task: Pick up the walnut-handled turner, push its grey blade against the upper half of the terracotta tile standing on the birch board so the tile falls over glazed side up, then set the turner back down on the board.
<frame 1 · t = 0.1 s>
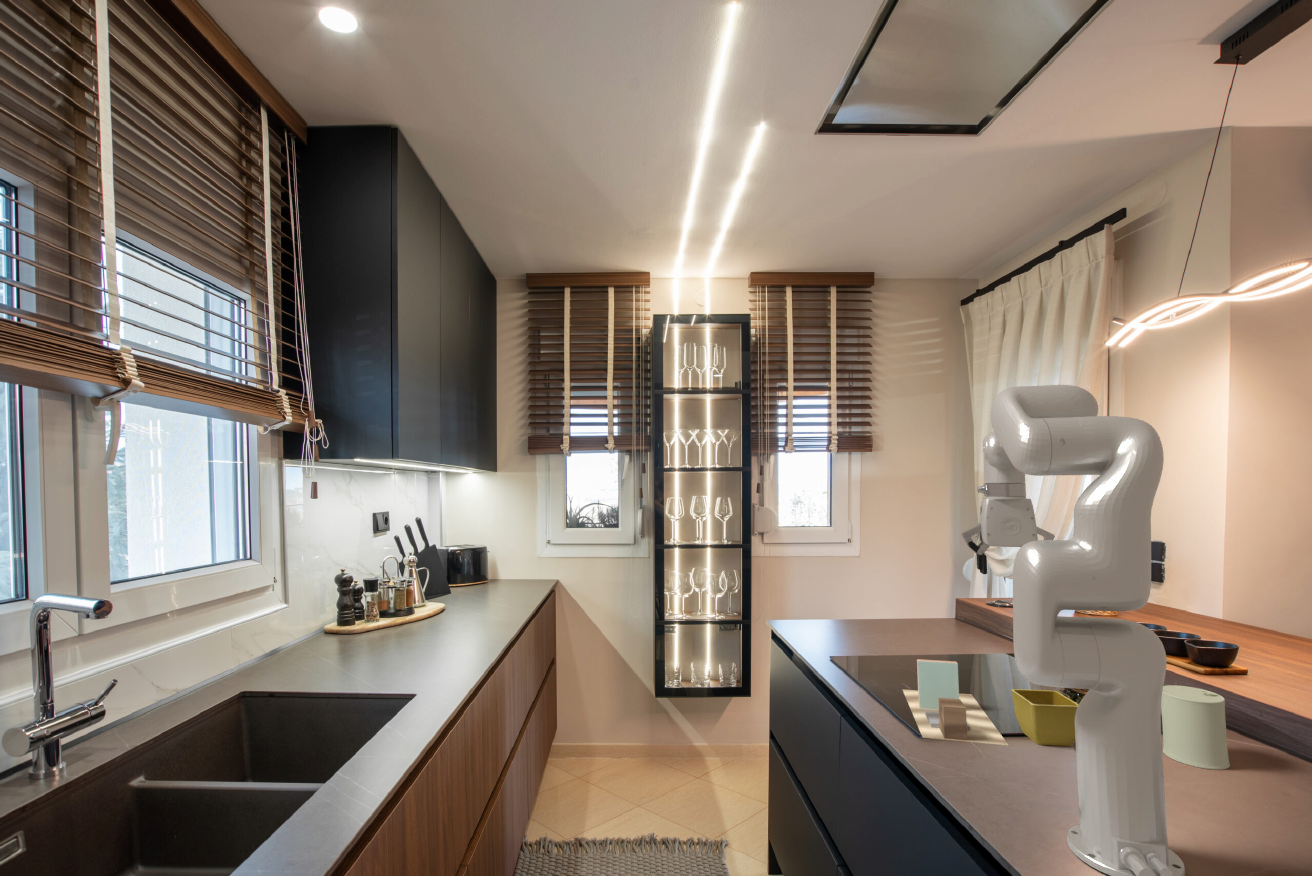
hand: (1008, 574, 128), 31 cm above the worktop, tool pointing down, fingers open, 9 cm apart
board: (949, 719, 130), on the worktop
can: (1195, 759, 112), on the worktop
tile: (938, 708, 134), point 1 cm above the worktop, touching board
flower pot: (1047, 746, 118), on the worktop
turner: (953, 734, 120), point 1 cm above the worktop, touching board
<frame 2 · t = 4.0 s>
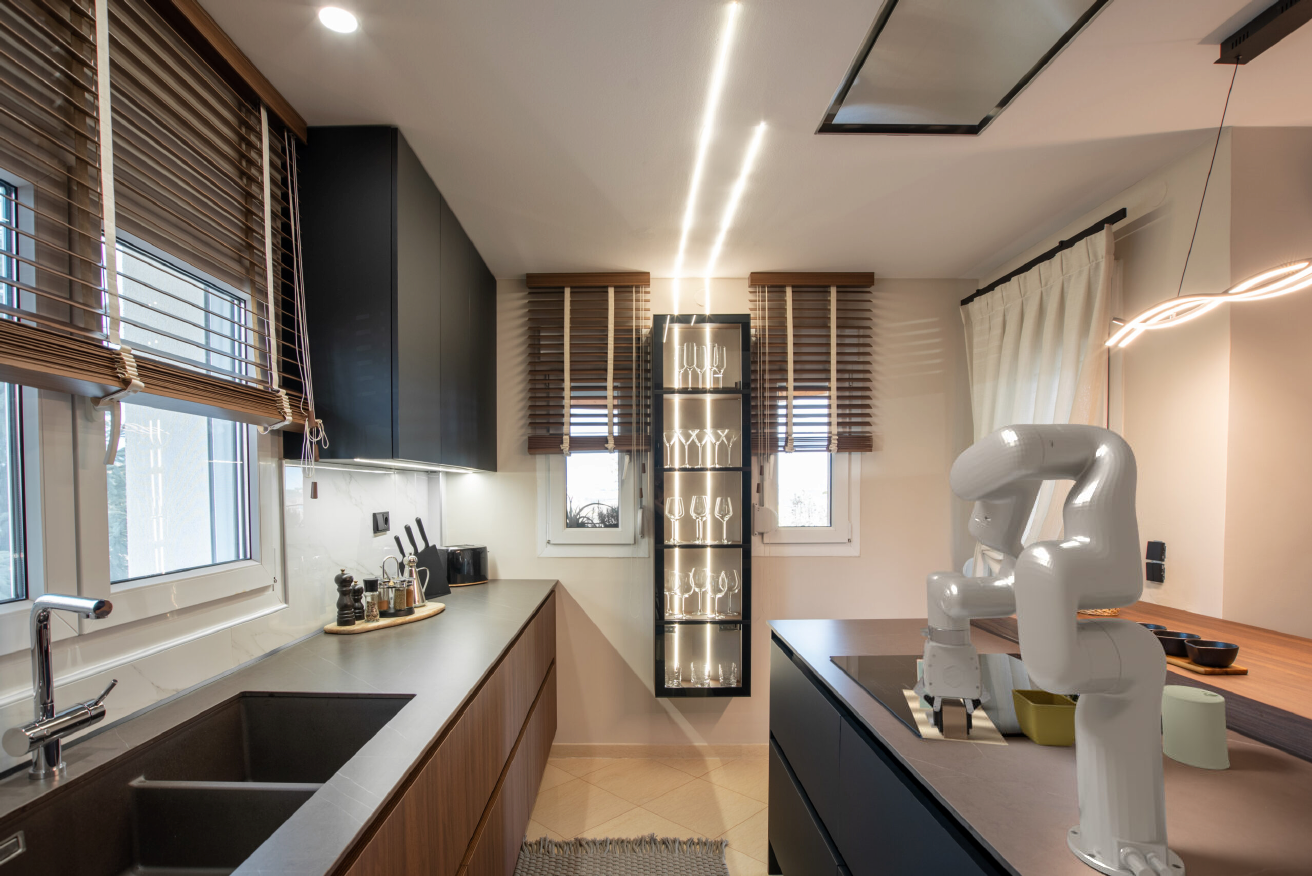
hand: (952, 729, 120), 2 cm above the worktop, tool pointing down, fingers closed on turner, 4 cm apart
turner: (953, 734, 120), point 1 cm above the worktop, touching board, gripper
everything else where it was.
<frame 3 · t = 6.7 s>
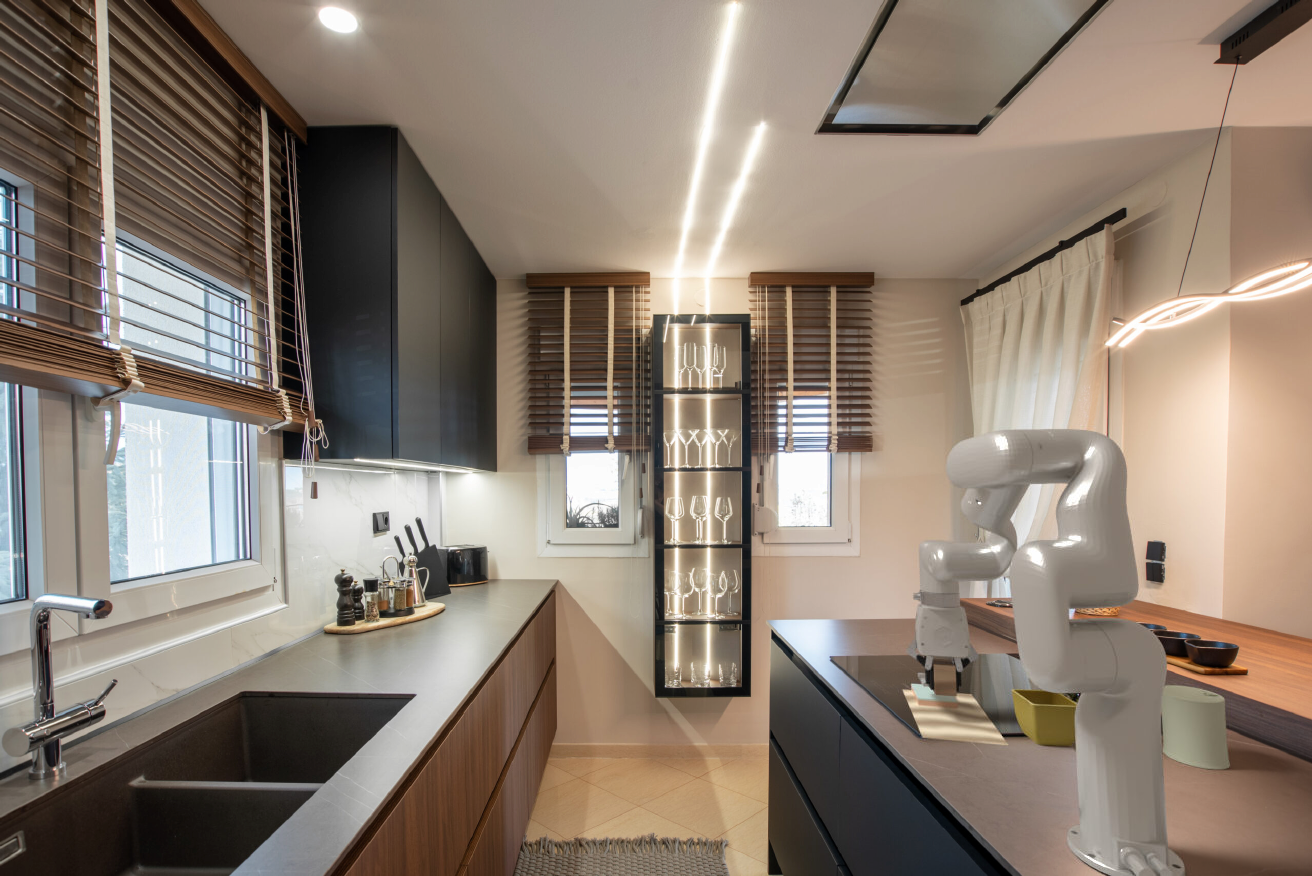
hand: (943, 687, 128), 8 cm above the worktop, tool pointing down, fingers closed on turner, 4 cm apart
tile: (937, 703, 134), point 2 cm above the worktop, tilted 90°, touching board
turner: (943, 691, 128), point 7 cm above the worktop, touching gripper
everything else where it was.
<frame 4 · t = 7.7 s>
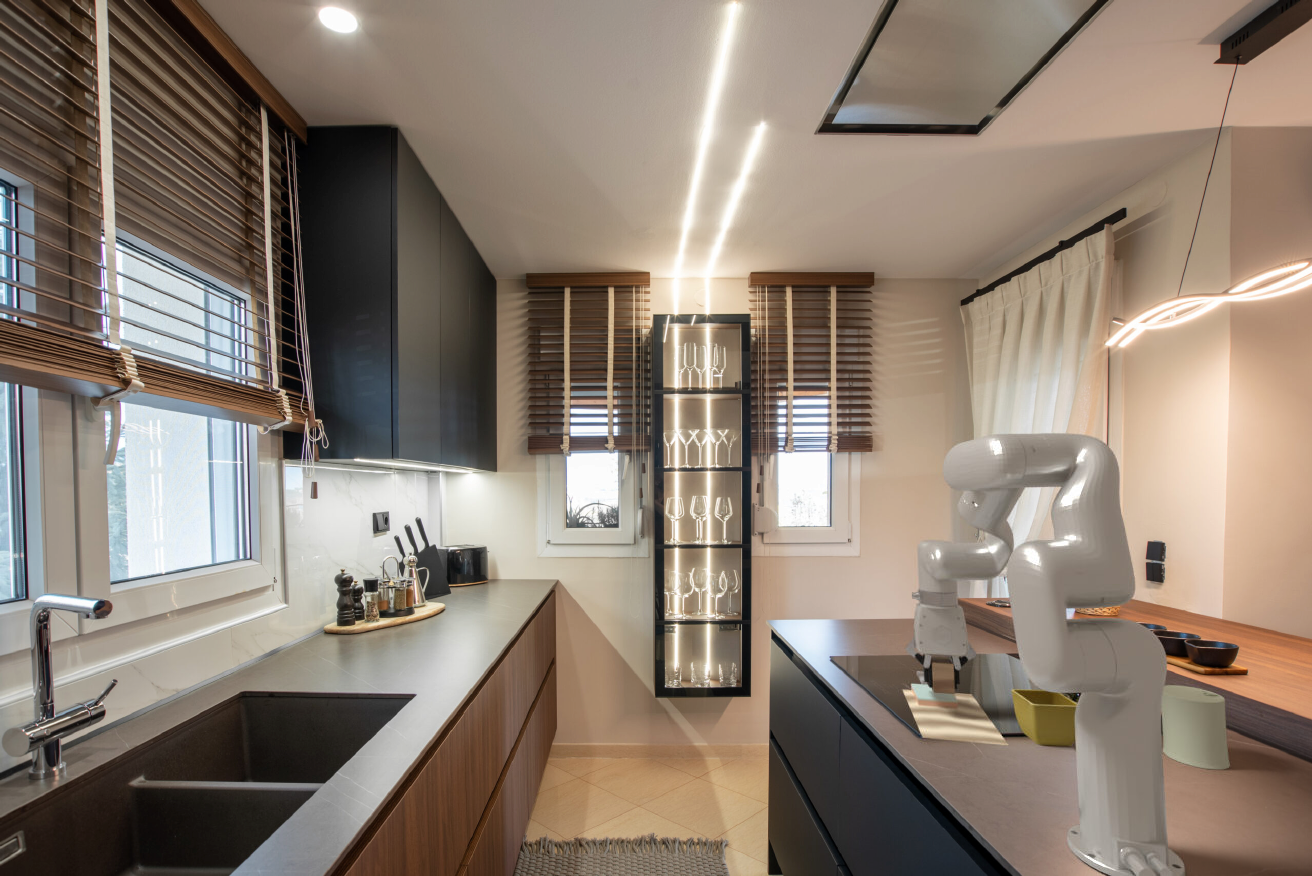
hand: (941, 685, 130), 7 cm above the worktop, tool pointing down, fingers closed on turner, 4 cm apart
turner: (941, 689, 130), point 7 cm above the worktop, touching gripper
everything else where it was.
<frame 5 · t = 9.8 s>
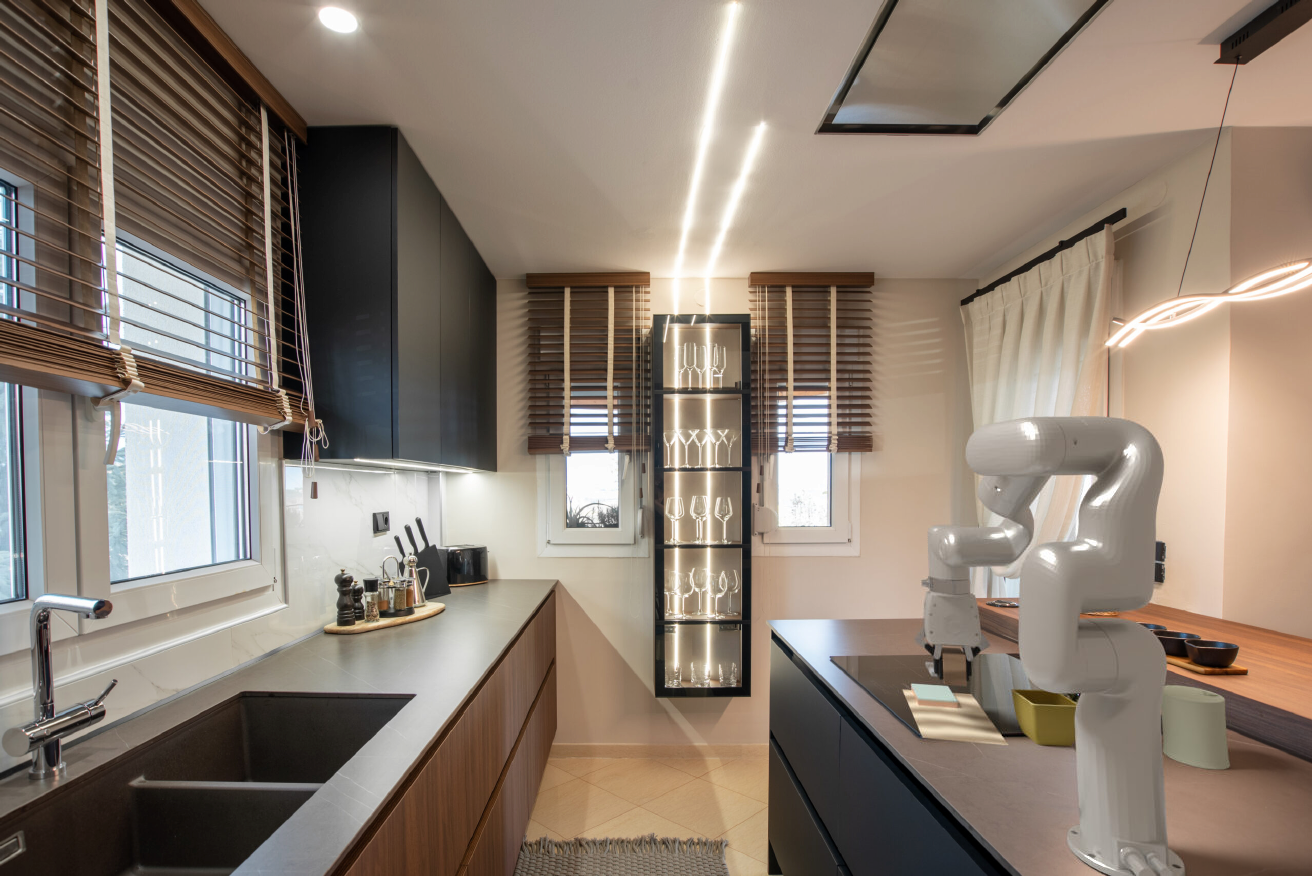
hand: (952, 677, 123), 11 cm above the worktop, tool pointing down, fingers closed on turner, 4 cm apart
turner: (952, 681, 123), point 10 cm above the worktop, touching gripper
everything else where it was.
when the fingers open (3 cm above the worktop, at t = 11.4 s): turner drops 1 cm, resting on board.
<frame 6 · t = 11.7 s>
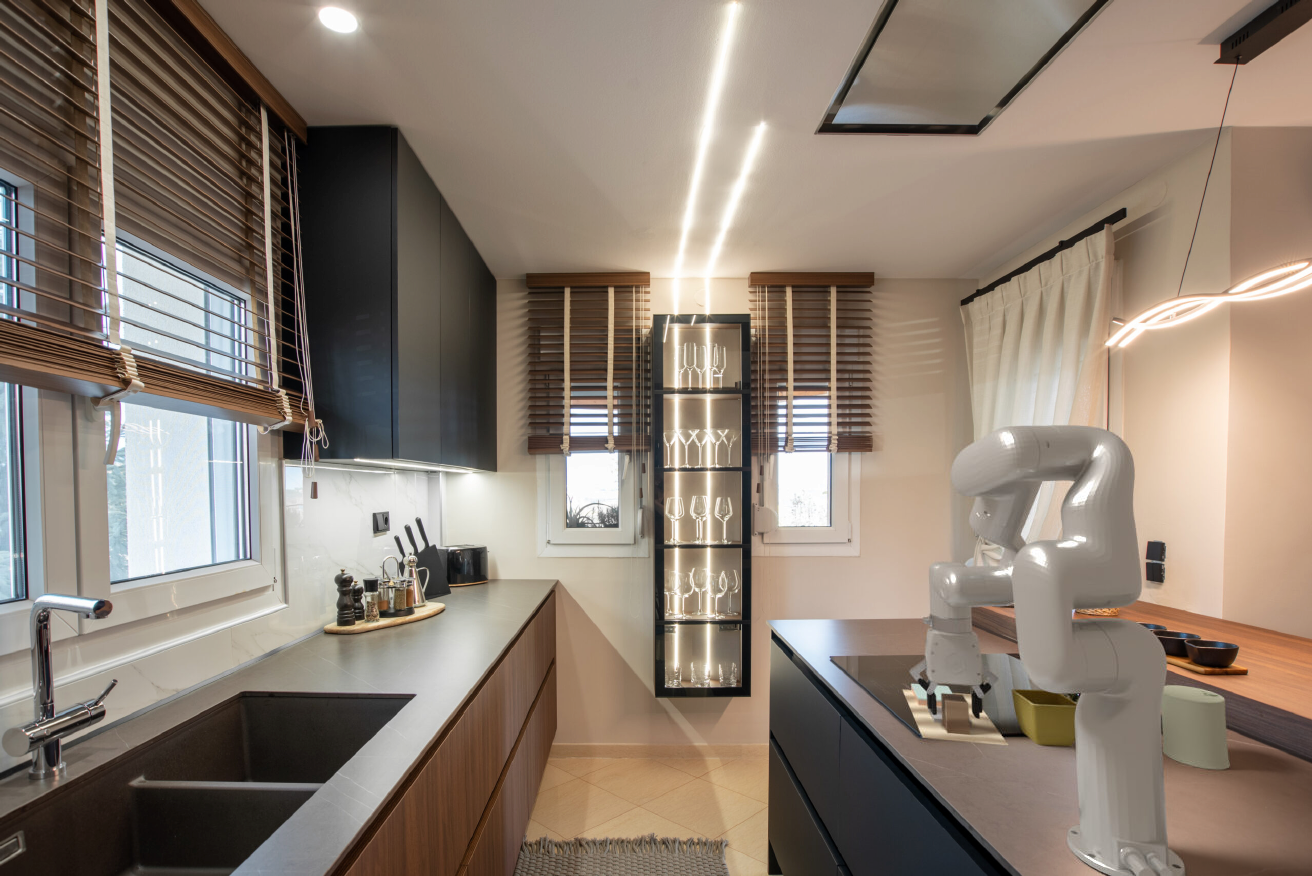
hand: (954, 713, 123), 4 cm above the worktop, tool pointing down, fingers open, 7 cm apart
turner: (955, 728, 122), point 1 cm above the worktop, touching board
everything else where it was.
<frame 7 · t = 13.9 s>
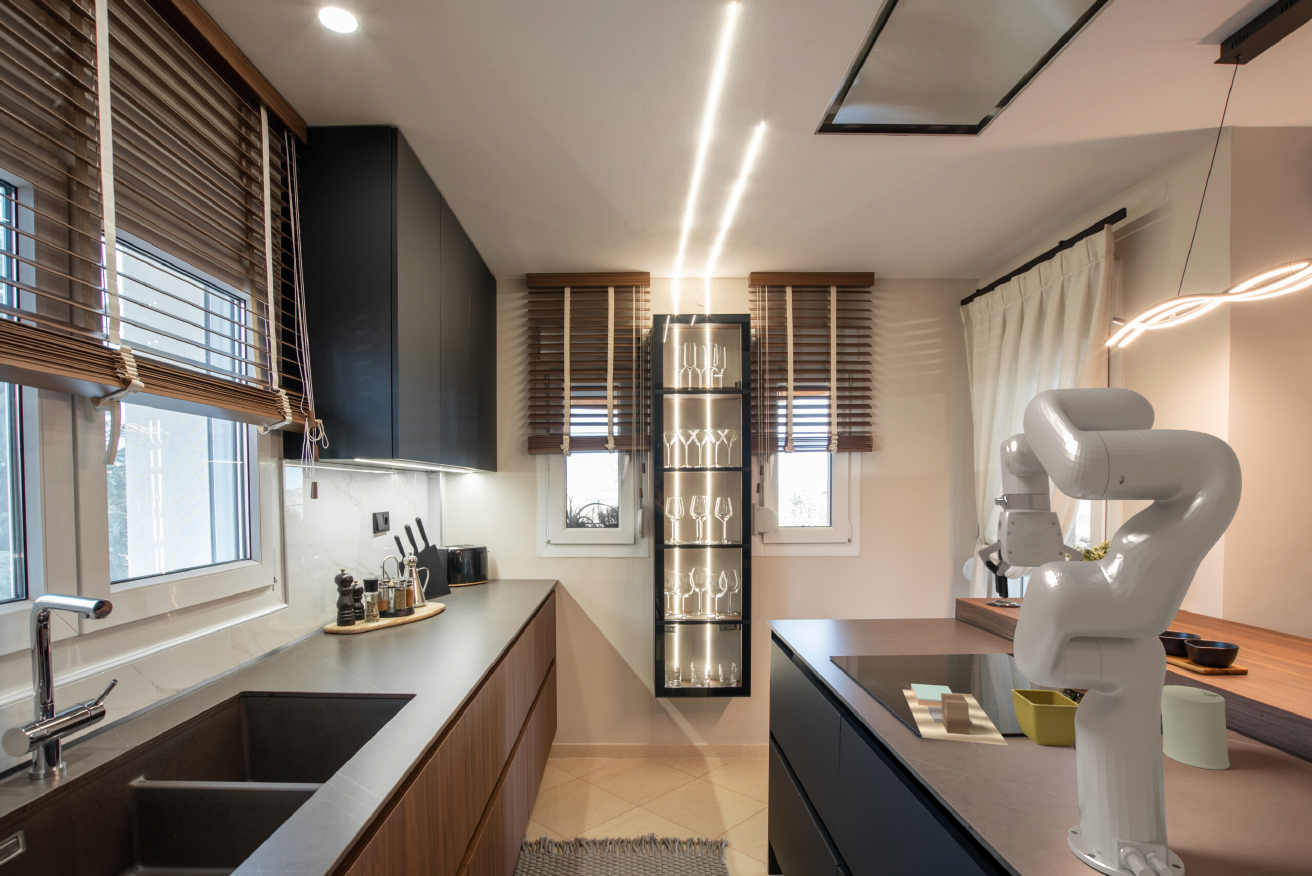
hand: (1032, 598, 112), 29 cm above the worktop, tool pointing down, fingers open, 9 cm apart
nothing on the worktop moved.
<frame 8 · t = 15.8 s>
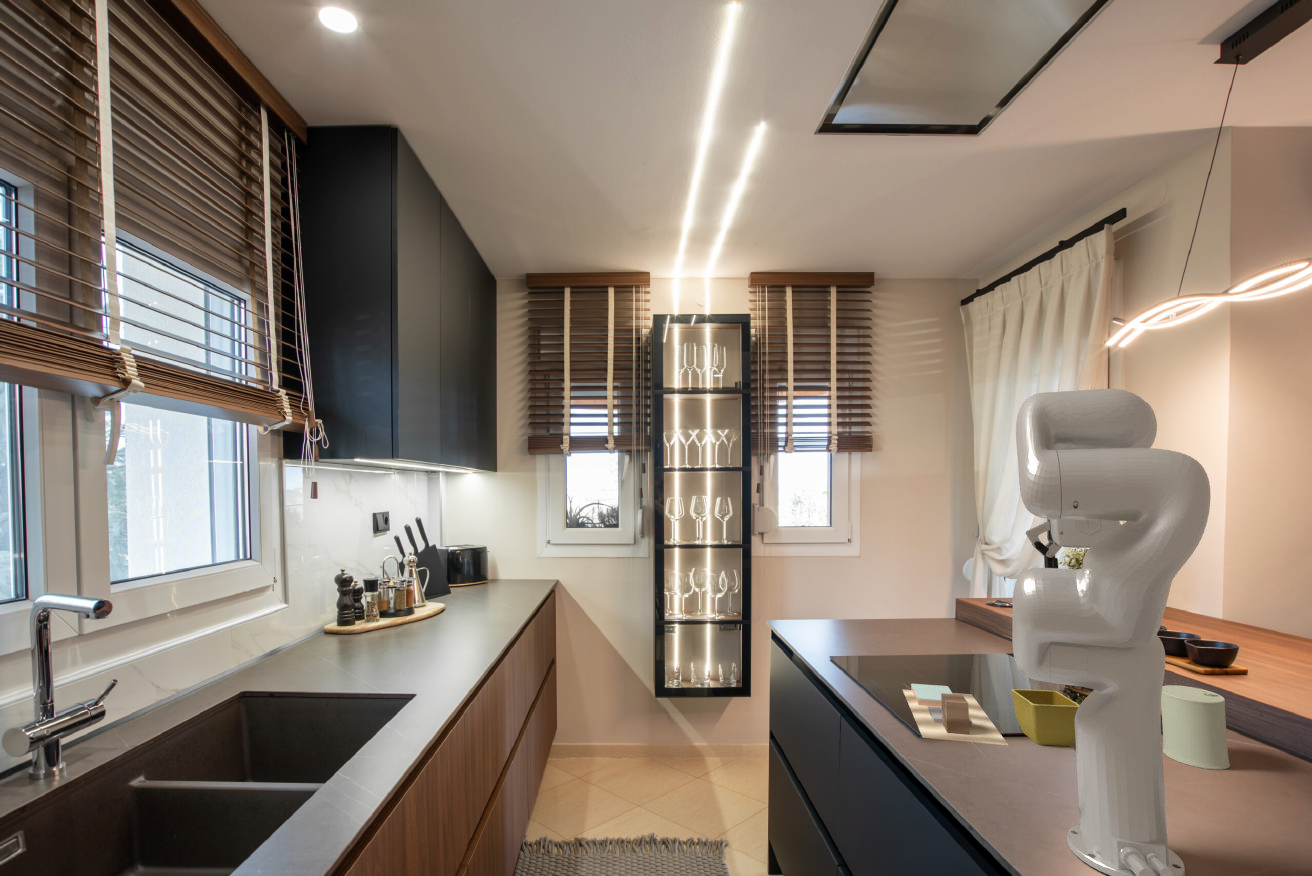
hand: (1084, 580, 107), 33 cm above the worktop, tool pointing down, fingers open, 9 cm apart
nothing on the worktop moved.
at the end: tile tilted 90°; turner point 1.2 cm above the worktop; the gripper is holding nothing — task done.
